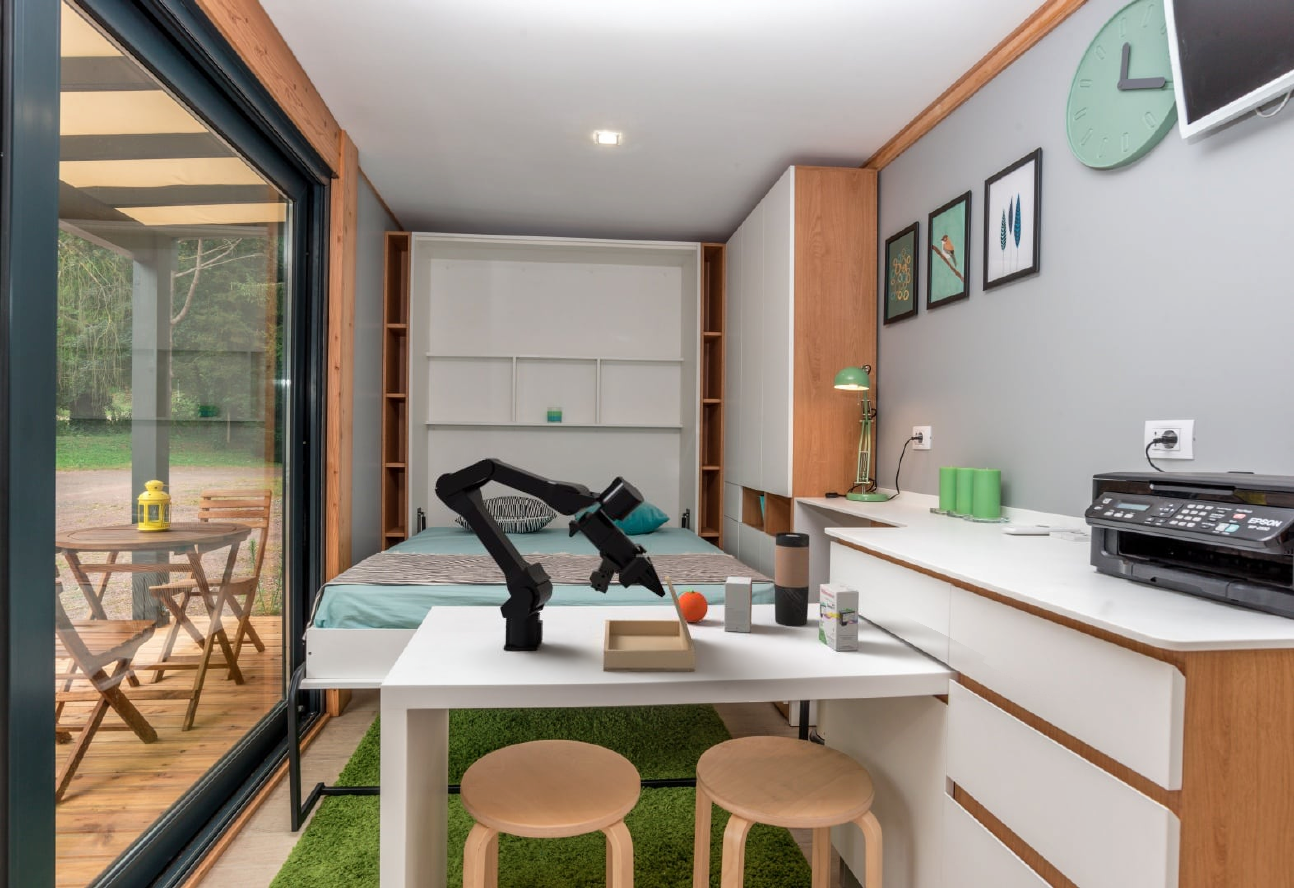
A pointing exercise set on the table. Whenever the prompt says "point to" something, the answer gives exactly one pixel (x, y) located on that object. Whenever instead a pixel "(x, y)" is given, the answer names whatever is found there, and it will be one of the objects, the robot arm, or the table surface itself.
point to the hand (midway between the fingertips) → (663, 595)
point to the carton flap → (679, 610)
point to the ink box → (839, 616)
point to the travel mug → (791, 578)
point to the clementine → (693, 606)
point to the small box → (738, 604)
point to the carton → (647, 646)
